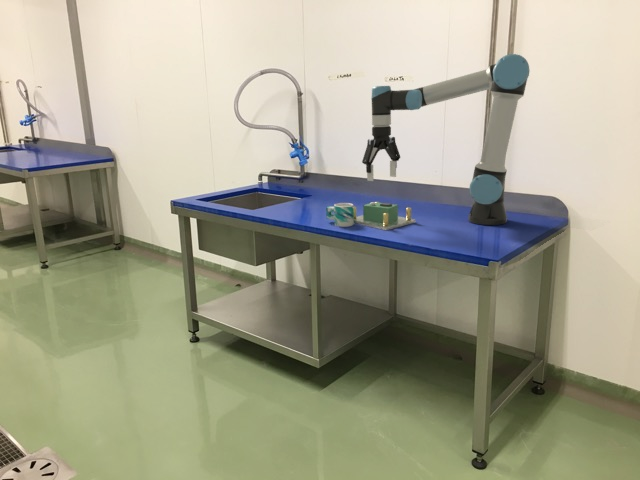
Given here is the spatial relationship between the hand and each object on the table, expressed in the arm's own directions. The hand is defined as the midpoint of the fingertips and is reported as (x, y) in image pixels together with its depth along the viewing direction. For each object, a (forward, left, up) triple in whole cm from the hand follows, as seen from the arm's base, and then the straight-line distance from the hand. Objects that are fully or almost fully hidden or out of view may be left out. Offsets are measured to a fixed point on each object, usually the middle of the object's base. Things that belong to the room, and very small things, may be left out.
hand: (381, 178), depth 219 cm
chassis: (0, 0, -18) cm, 18 cm away
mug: (+11, +14, -19) cm, 26 cm away
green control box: (0, 0, -17) cm, 17 cm away
